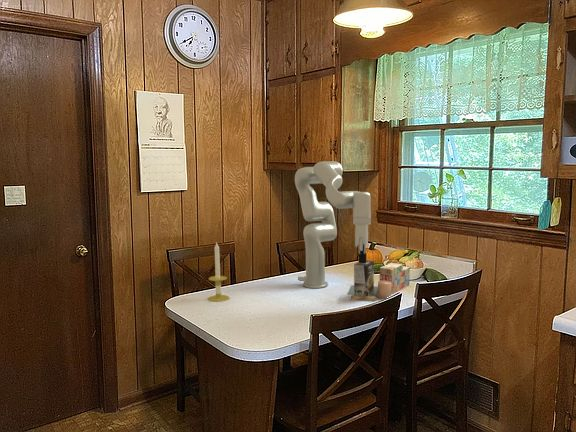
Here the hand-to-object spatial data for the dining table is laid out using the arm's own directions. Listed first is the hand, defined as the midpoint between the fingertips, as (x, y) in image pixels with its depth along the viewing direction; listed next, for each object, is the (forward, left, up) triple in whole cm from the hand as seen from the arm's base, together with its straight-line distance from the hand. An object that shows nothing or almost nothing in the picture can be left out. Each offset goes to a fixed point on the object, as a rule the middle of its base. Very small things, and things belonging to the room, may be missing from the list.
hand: (362, 262), depth 210 cm
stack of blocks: (+13, +27, -19) cm, 36 cm away
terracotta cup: (+9, +13, -19) cm, 24 cm away
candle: (-66, -4, -19) cm, 69 cm away
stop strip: (0, +6, -19) cm, 20 cm away
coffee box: (0, +12, -19) cm, 22 cm away
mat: (0, +21, -19) cm, 29 cm away
